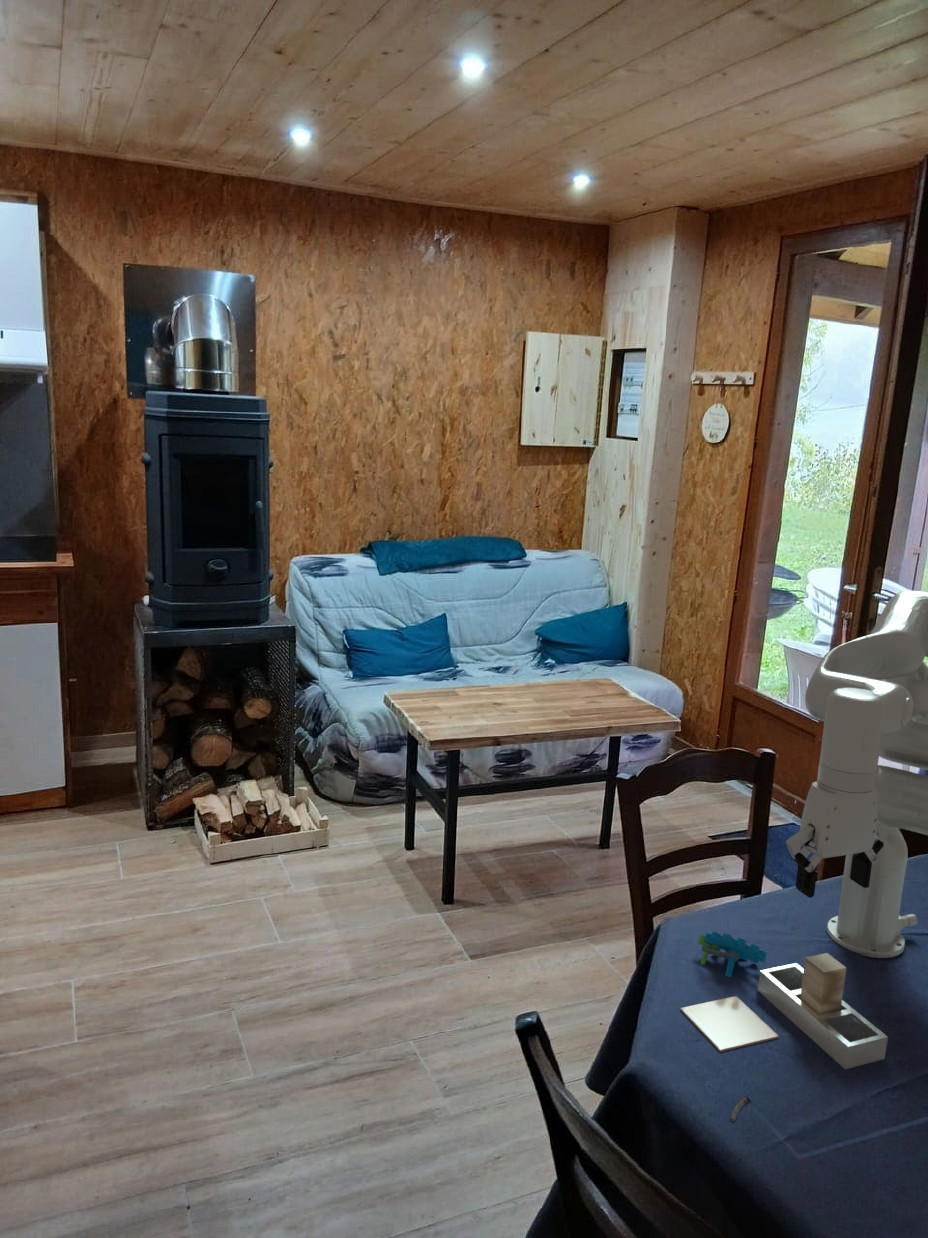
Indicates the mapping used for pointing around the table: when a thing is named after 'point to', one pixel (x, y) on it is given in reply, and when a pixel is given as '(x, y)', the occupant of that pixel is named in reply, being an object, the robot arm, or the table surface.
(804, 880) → the robot arm
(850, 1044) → the shelf
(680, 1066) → the table surface
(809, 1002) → the peg
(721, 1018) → the tile
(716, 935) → the gear
